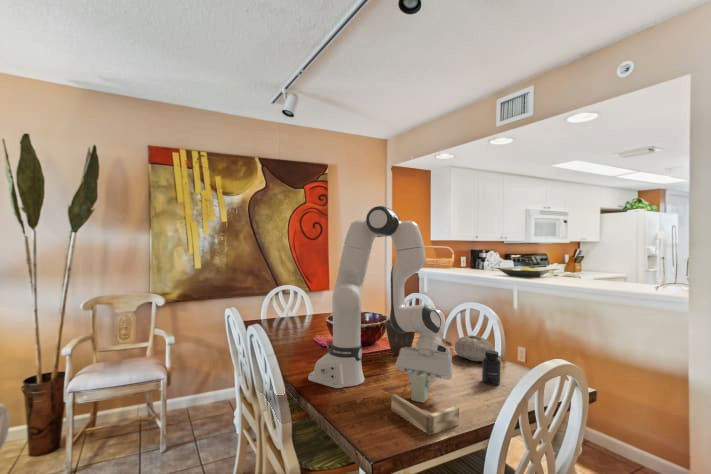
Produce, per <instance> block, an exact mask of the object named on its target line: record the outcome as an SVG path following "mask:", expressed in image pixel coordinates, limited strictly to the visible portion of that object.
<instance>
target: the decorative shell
mask: <svg viewBox="0 0 711 474" xmlns="http://www.w3.org/2000/svg"><path fill="white" fill-rule="evenodd" d="M487 350H493V351H495V349H494V346H493V345H492V342H491V341H488V340H487V339H486V338H484V337H481V336H477V335H471V334H470V335H465V336H462V337H459V338H458V339H457V340H456V341H455V343H454V351H455V353H456V354H457V355H458V356H460V357H462V358H465V359H467V360H469V361H473V362H482V360H483V358H484V357H486V356H485V351H487Z"/></svg>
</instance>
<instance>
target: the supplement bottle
mask: <svg viewBox="0 0 711 474" xmlns="http://www.w3.org/2000/svg"><path fill="white" fill-rule="evenodd" d="M485 356H486V357H484V358H483V360H482V361H481V362H482V363H481V366H482V369H481V381H482V382H483V384H486V385H488V386H489V385H490V386H498V385H500V384H501V370H502V369H501V365H502V364H501V363H502V362H501V360H500V359H499V352H498V351H497V350H494V351H493V350H487V351H485Z"/></svg>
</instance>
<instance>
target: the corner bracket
mask: <svg viewBox="0 0 711 474" xmlns="http://www.w3.org/2000/svg"><path fill="white" fill-rule="evenodd" d="M390 396H391V397H390V398H391V406H390V408H391V409H390V410H392V411H391V412H393V413H395V414H396V413H397V414H396V415H398V416H399V415H400V416H399V417H400V418H402V417H403V419H404V421H405V420H406V421H407V422H408V421H409V422H408V423H410V424H411V423H412V424H411V425H413V426H415V427H416V428H417V429H419V430H421V431H422V430H423V431H422V432H424V433H425V432H426V434H427V435H428V434H429V435H428V436H432V435H435V434H437V433H441V432H442V430H443V431H445V430H448V429H451V428H453V426H454V427H456V426H458V425H459V426H460V407H458V406H456V405H453V406H451V407H449V408H445V409H443V410H439V411H436V412H434V413H432V412H431V411H429V410H426V409H425V408H424V409H422V408H419V407H418V406H416V405H414V404H413V403H411V402H409V401H408V400H406V399H404V398H403V397H401V396H399V395H397V394H396V393H394V394H391V395H390ZM434 433H435V434H434ZM431 434H432V435H431Z"/></svg>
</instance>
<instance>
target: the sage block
mask: <svg viewBox="0 0 711 474" xmlns="http://www.w3.org/2000/svg"><path fill="white" fill-rule="evenodd" d="M411 376H412V381H411V384H410V385H411V390H410V391H411V394H410V395H411V398H410V400H411V401H414V402H418V403H425V402H426V401H427V400H428V399H429V388H426V387H425V384H426V381H429V376H428V373H427V372H423V371H416V370H415V371H414V372H413V373H412V375H411Z"/></svg>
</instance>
